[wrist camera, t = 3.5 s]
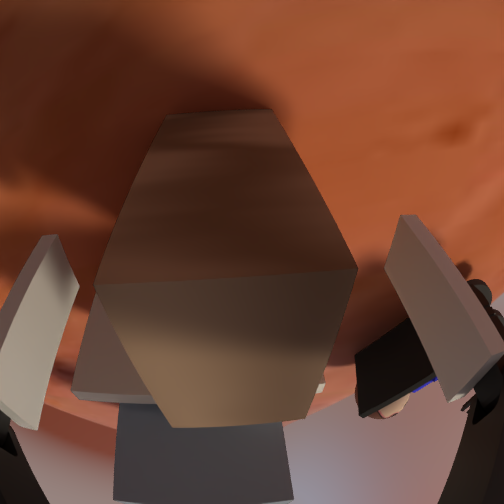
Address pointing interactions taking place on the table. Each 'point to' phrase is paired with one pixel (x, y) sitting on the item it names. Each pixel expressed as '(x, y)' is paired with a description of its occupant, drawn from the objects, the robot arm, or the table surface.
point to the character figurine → (396, 368)
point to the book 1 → (226, 272)
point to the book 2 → (197, 461)
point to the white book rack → (110, 365)
